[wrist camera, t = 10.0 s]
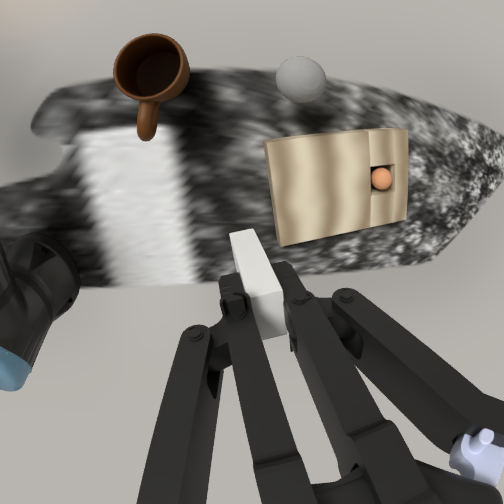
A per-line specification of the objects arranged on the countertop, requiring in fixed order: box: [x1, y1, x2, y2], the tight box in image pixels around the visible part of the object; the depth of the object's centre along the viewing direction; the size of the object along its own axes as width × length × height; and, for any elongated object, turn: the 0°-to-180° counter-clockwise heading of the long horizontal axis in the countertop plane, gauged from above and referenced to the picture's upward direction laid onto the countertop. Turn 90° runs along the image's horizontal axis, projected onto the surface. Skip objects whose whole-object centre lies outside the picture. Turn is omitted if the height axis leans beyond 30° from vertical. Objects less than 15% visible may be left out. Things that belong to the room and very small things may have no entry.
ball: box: [371, 168, 392, 190], centre depth 40 cm, size 3×3×3 cm
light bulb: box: [276, 56, 326, 103], centre depth 29 cm, size 6×5×10 cm
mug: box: [113, 33, 190, 141], centre depth 27 cm, size 12×8×9 cm, turn 173°
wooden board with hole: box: [263, 128, 408, 247], centre depth 40 cm, size 22×15×2 cm
